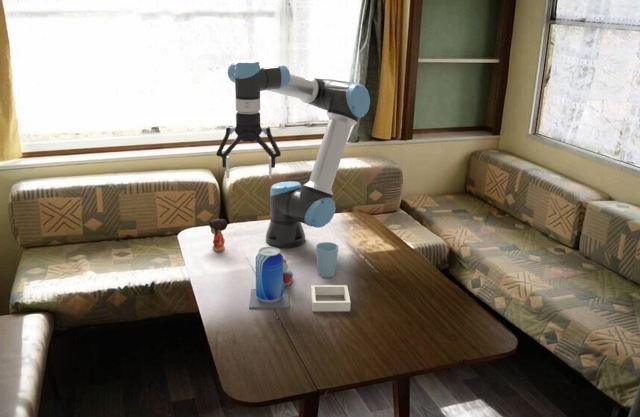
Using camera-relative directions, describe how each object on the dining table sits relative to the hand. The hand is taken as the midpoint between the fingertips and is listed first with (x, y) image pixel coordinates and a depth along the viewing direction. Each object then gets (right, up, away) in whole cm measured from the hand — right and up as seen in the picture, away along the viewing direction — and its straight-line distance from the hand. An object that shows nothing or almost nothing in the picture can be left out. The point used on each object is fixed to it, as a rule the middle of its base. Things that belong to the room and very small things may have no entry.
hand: (249, 177), depth 200 cm
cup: (+25, -33, +13) cm, 43 cm away
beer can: (+7, -38, -5) cm, 39 cm away
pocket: (+26, -39, -6) cm, 48 cm away
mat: (+7, -39, -5) cm, 40 cm away
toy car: (+9, -35, +6) cm, 37 cm away
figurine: (-15, -25, +32) cm, 43 cm away
